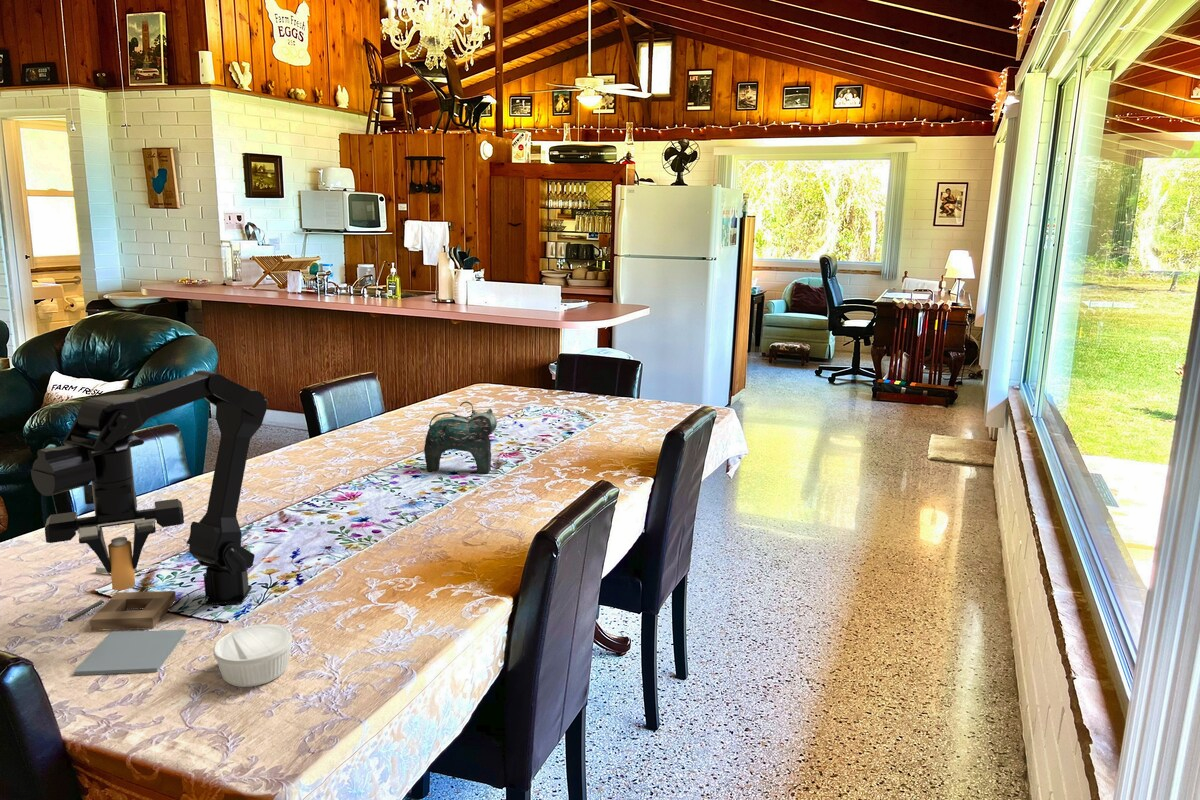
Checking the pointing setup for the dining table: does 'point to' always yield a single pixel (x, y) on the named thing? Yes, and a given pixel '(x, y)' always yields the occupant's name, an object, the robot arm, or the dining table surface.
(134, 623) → the brown square frame
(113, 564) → the orange cylinder
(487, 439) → the green animal figurine
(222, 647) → the ramekin
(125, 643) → the rubber mat
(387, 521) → the dining table surface
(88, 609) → the strip
